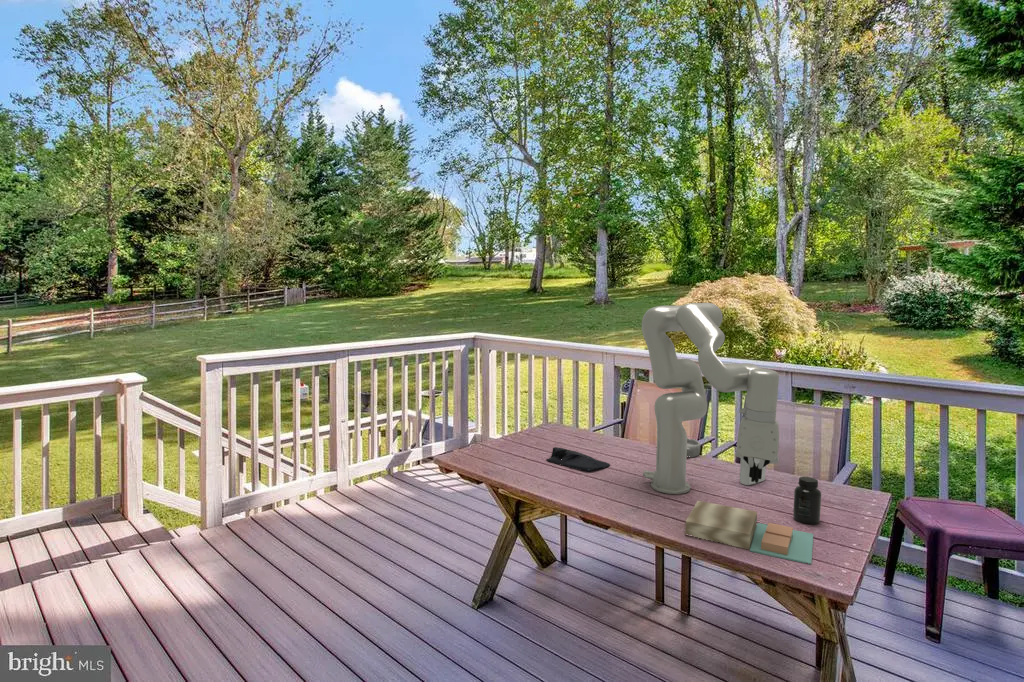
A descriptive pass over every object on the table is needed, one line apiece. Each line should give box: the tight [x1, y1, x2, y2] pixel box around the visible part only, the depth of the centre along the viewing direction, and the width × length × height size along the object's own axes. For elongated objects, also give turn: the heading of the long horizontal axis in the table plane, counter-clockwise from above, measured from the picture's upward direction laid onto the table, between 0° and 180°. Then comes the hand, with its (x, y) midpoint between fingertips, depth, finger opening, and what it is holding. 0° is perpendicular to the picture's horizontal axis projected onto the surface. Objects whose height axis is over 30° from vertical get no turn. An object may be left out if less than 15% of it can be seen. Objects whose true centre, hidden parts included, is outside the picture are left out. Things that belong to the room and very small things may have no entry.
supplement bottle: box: [792, 476, 822, 525], centre depth 160 cm, size 7×7×12 cm
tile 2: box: [761, 533, 790, 555], centre depth 143 cm, size 6×6×2 cm
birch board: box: [684, 500, 758, 550], centre depth 154 cm, size 16×16×4 cm
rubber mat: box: [749, 522, 814, 565], centre depth 147 cm, size 14×18×1 cm
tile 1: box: [766, 522, 794, 544], centre depth 149 cm, size 6×6×2 cm
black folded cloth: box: [546, 446, 611, 472], centre depth 210 cm, size 15×22×5 cm
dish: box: [687, 437, 701, 458], centre depth 222 cm, size 14×14×5 cm
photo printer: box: [739, 458, 767, 486], centre depth 190 cm, size 10×4×12 cm, turn 123°
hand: (755, 480), depth 153 cm, fingers closed
